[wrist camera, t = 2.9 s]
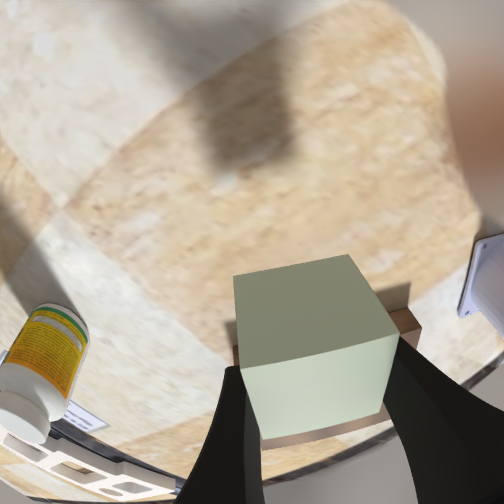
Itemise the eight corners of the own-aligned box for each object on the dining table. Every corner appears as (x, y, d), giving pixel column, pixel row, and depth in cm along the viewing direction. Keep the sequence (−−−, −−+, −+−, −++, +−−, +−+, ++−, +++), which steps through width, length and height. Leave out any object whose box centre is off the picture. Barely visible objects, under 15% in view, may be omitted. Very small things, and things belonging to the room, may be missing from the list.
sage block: (348, 254, 12) (399, 332, 8) (346, 335, 14) (378, 412, 10) (233, 276, 12) (239, 369, 8) (252, 355, 14) (262, 439, 10)
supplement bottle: (90, 359, 22) (60, 458, 14) (35, 338, 21) (-6, 428, 12) (92, 313, 20) (49, 425, 12) (31, 290, 19) (-29, 387, 10)
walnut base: (407, 307, 22) (422, 327, 20) (384, 401, 29) (392, 418, 27) (232, 346, 22) (234, 372, 20) (259, 430, 29) (262, 450, 27)
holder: (-83, 359, 23) (-90, 370, 21) (-89, 304, 18) (-100, 316, 16) (122, 489, 42) (121, 501, 39) (176, 476, 37) (176, 491, 34)
